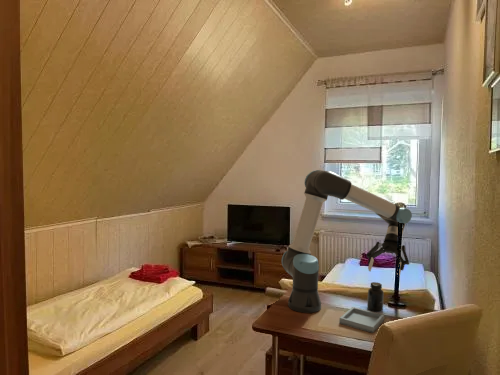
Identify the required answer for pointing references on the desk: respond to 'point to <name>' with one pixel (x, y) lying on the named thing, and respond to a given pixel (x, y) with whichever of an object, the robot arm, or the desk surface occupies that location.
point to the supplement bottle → (375, 297)
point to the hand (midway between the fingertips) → (383, 272)
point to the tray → (362, 319)
